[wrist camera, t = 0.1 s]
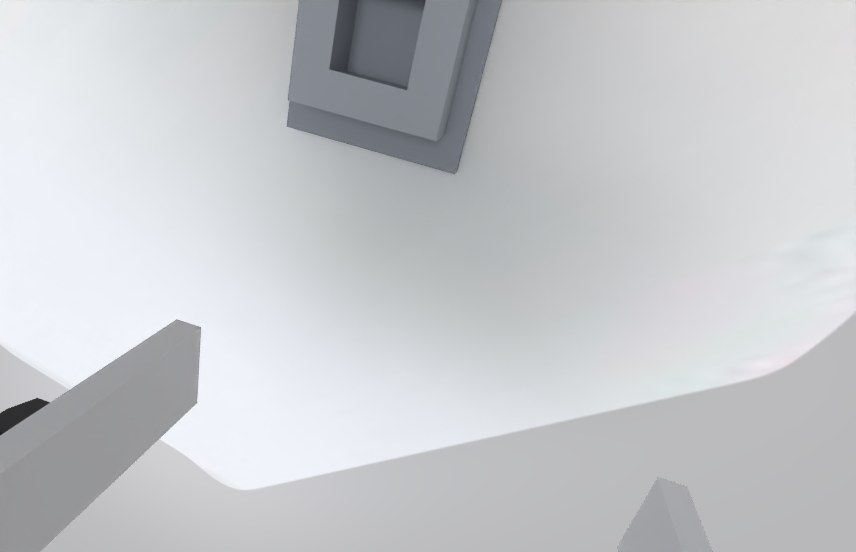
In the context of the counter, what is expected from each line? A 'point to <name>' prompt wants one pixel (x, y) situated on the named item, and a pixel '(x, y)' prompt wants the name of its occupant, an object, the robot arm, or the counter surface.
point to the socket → (391, 74)
